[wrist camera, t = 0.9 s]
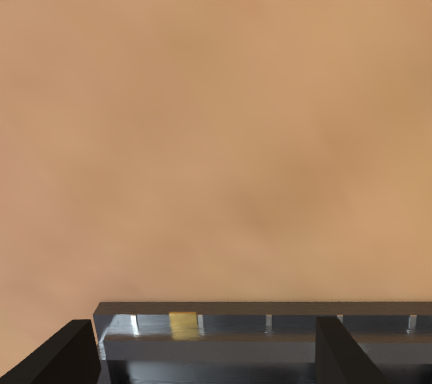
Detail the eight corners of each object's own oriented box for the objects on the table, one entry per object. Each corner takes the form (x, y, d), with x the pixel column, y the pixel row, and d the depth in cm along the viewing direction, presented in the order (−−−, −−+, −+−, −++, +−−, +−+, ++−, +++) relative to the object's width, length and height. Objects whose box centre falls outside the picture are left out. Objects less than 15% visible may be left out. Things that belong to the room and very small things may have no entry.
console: (431, 397, 25) (451, 435, 22) (117, 391, 27) (104, 425, 24) (450, 298, 22) (475, 329, 20) (99, 299, 24) (83, 327, 22)
